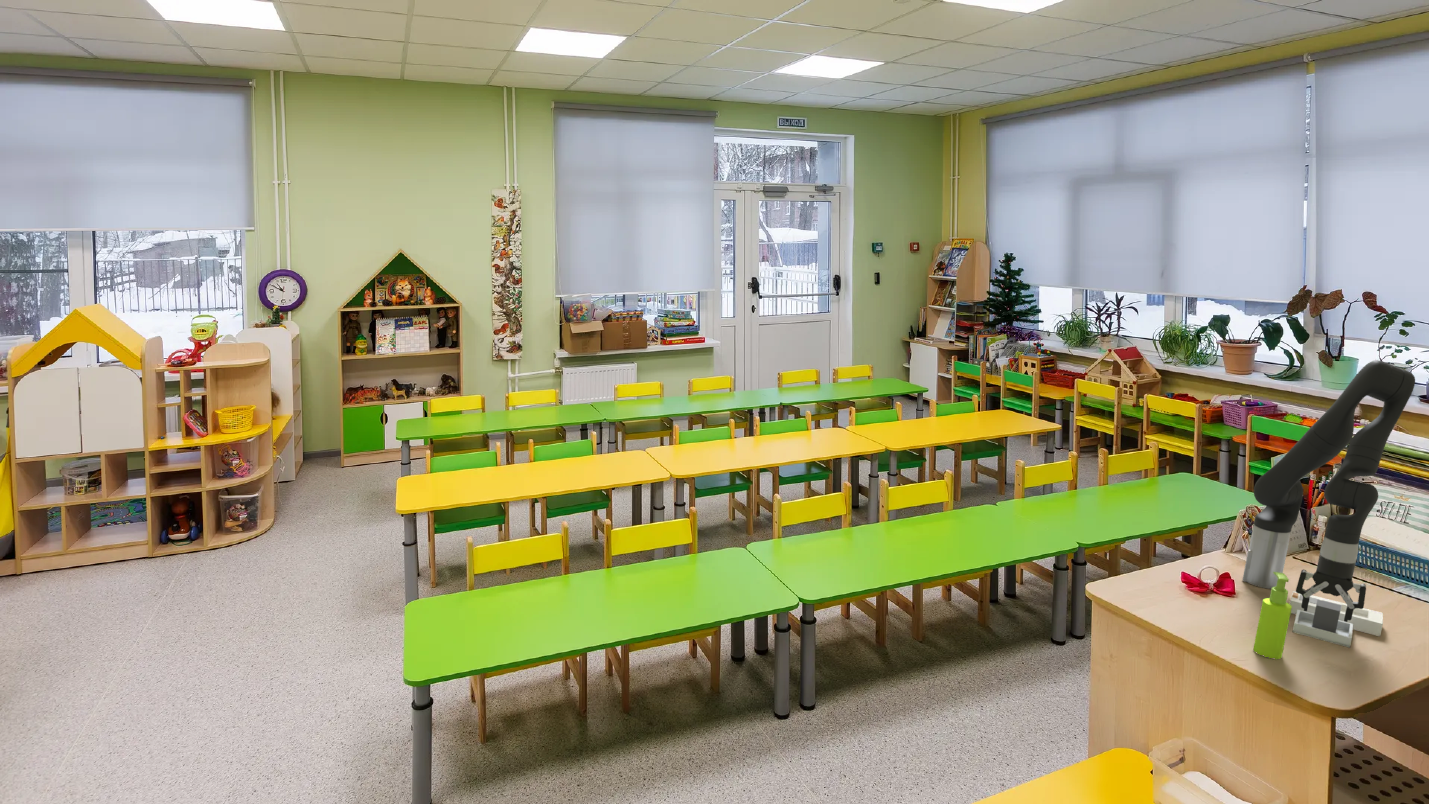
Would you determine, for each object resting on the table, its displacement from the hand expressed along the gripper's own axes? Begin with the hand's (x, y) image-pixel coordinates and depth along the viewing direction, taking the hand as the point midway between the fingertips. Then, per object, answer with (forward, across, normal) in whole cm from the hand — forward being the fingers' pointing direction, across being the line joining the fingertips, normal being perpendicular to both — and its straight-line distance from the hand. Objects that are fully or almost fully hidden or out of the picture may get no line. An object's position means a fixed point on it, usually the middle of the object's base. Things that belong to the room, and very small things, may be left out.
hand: (1325, 615), depth 218 cm
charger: (+4, 0, 0) cm, 4 cm away
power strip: (+5, +2, +13) cm, 14 cm away
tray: (+5, 0, 0) cm, 5 cm away
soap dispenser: (+5, -10, -24) cm, 26 cm away
